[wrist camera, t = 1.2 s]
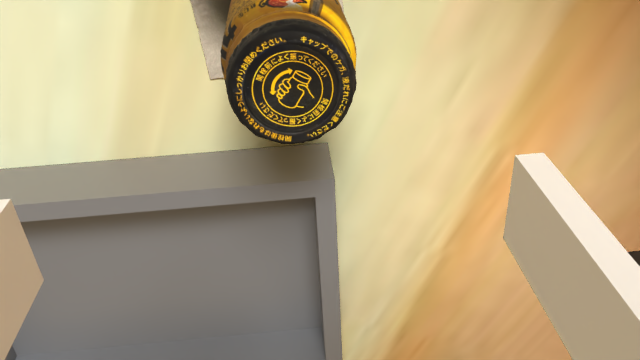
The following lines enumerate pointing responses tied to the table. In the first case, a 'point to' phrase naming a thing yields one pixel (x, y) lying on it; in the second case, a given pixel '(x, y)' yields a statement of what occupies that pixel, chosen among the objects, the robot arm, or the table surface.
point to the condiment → (281, 63)
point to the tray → (182, 257)
